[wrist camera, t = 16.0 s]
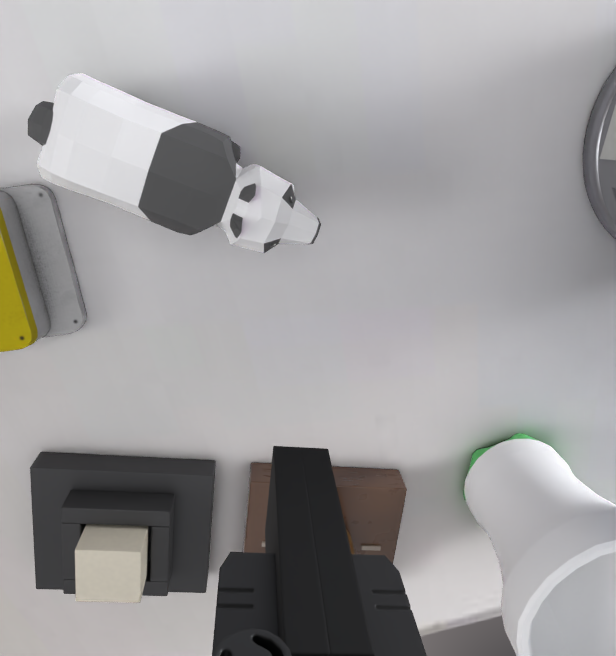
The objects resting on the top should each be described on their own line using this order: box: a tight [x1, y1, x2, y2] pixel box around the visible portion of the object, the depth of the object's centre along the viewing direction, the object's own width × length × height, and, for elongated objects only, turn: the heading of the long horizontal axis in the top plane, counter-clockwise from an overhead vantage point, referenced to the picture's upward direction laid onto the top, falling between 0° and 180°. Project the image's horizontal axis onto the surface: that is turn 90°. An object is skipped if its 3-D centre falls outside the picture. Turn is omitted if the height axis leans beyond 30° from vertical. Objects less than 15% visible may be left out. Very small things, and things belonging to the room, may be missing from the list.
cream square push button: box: [75, 524, 148, 603], centre depth 37 cm, size 4×4×3 cm
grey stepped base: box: [30, 452, 216, 596], centre depth 40 cm, size 12×10×4 cm
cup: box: [463, 433, 616, 656], centre depth 36 cm, size 11×11×14 cm
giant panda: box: [28, 73, 321, 253], centre depth 30 cm, size 15×6×10 cm, turn 68°
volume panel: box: [243, 463, 407, 564], centre depth 42 cm, size 11×10×3 cm
